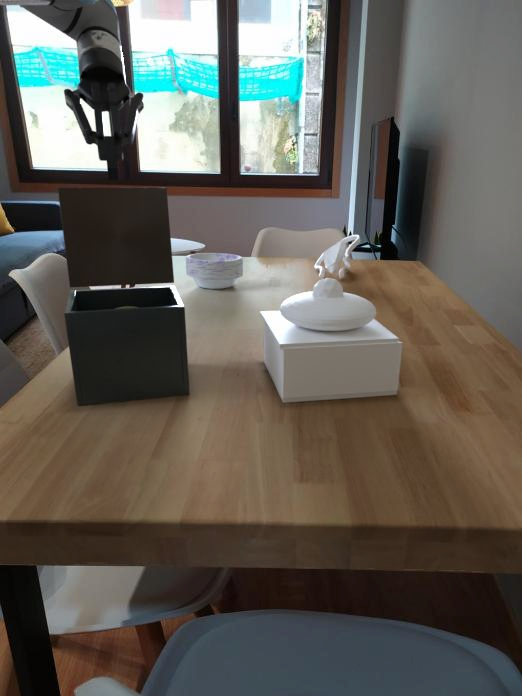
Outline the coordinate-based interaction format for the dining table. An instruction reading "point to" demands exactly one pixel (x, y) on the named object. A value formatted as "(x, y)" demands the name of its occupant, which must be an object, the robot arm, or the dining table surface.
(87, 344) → the trash can
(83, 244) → the bin lid
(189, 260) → the paper bowls
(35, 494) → the dining table surface
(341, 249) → the white angular legged piece
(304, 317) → the butter dish
